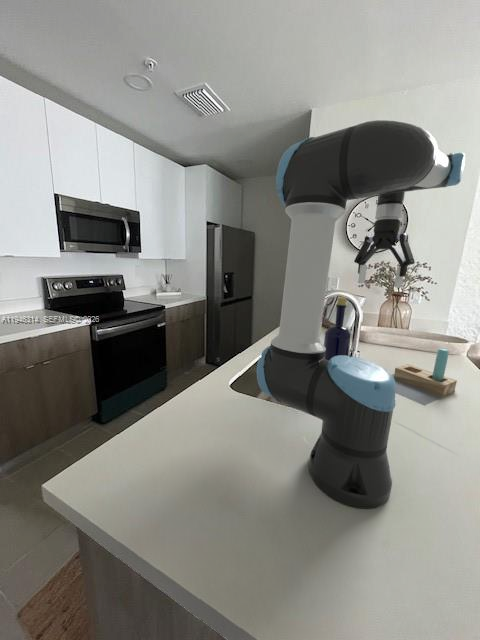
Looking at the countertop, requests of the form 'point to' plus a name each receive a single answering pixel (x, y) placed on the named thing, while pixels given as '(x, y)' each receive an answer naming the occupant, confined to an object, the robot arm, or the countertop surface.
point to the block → (424, 380)
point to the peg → (440, 364)
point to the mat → (415, 392)
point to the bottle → (338, 334)
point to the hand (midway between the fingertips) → (378, 285)
